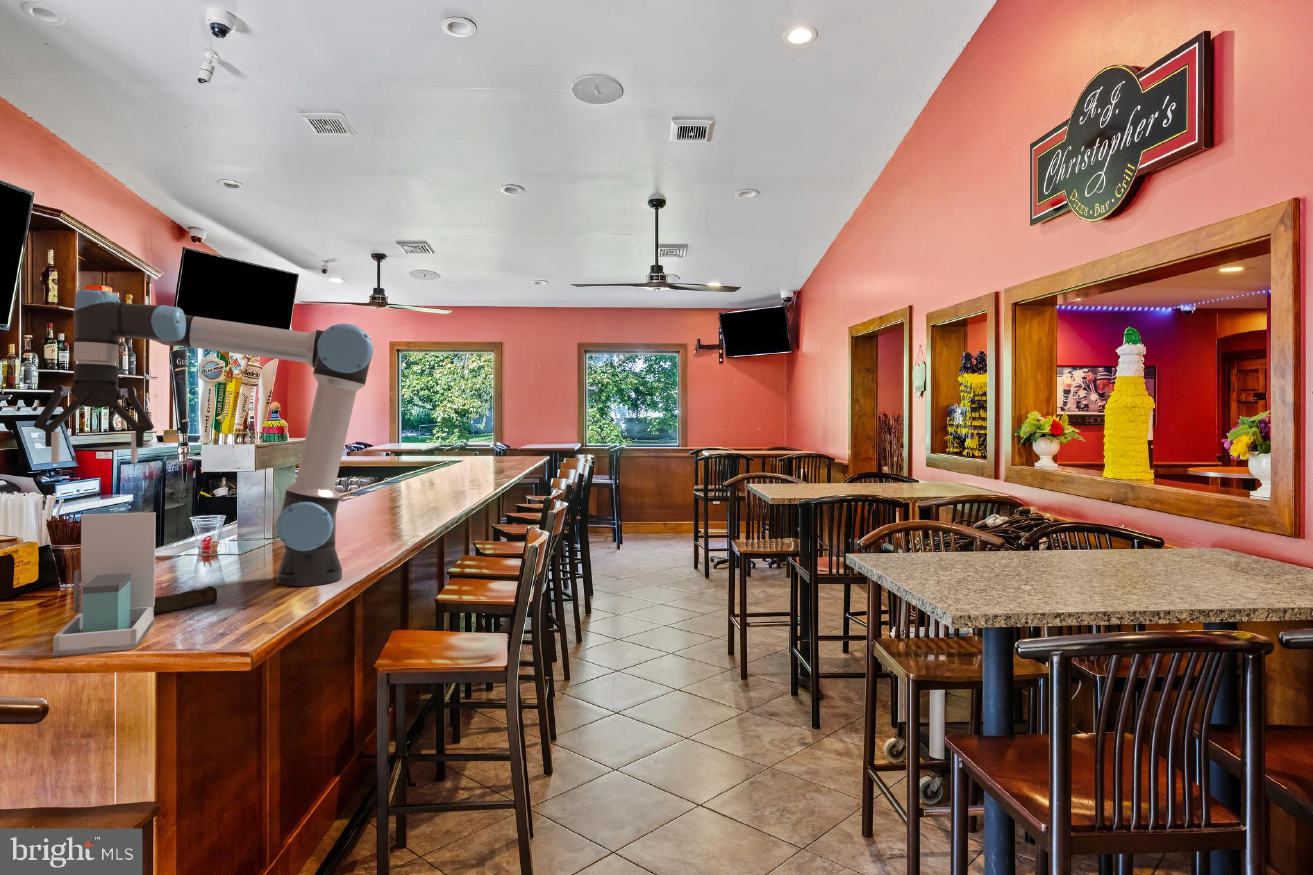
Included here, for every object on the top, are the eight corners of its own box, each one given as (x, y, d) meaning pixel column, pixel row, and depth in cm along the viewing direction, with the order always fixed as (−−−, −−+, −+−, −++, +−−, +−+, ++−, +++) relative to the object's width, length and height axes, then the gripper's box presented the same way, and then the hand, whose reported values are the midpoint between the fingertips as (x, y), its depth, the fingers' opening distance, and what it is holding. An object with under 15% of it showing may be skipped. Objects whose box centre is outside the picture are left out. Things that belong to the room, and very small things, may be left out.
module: (130, 624, 137) (131, 573, 137) (118, 640, 128) (118, 584, 128) (97, 627, 135) (97, 575, 135) (82, 643, 126) (82, 587, 126)
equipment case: (154, 622, 142) (155, 512, 142) (136, 648, 127) (137, 525, 126) (76, 628, 137) (76, 514, 136) (46, 657, 121) (47, 528, 121)
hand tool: (209, 602, 159) (209, 581, 159) (218, 604, 157) (218, 583, 157) (109, 621, 143) (109, 598, 143) (118, 625, 141) (118, 601, 141)
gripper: (169, 368, 161) (168, 461, 162) (27, 361, 150) (26, 461, 151) (163, 366, 155) (162, 463, 155) (14, 359, 144) (14, 464, 144)
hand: (95, 462), depth 153 cm, fingers open, 13 cm apart
